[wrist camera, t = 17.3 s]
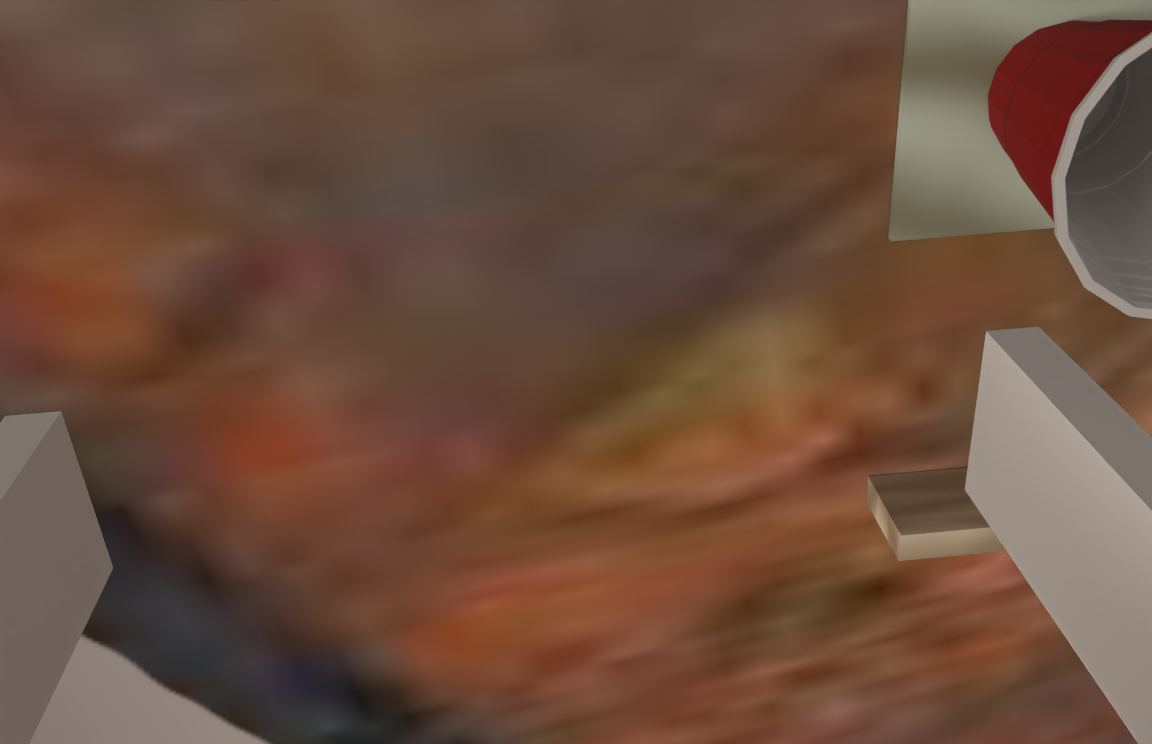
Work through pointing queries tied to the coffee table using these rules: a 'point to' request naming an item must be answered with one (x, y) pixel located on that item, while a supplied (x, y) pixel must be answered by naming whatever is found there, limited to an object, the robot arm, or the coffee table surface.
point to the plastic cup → (1086, 146)
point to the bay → (959, 206)
